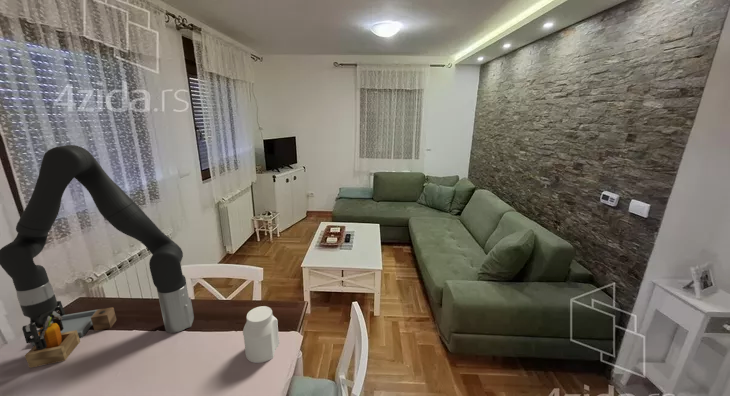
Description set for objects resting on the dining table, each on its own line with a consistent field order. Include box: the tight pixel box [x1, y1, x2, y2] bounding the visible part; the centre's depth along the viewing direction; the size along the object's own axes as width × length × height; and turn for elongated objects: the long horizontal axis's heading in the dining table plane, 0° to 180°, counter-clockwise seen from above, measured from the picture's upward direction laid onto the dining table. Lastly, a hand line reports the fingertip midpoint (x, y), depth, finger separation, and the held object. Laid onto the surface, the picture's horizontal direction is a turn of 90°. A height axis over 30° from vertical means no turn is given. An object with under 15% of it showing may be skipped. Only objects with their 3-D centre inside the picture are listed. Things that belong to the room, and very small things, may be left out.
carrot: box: [38, 317, 62, 349], centre depth 96 cm, size 5×5×15 cm
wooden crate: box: [24, 330, 81, 369], centre depth 97 cm, size 9×9×5 cm
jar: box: [242, 305, 280, 364], centre depth 99 cm, size 12×10×15 cm
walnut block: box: [91, 306, 117, 332], centre depth 111 cm, size 5×5×6 cm
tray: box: [31, 308, 100, 347], centre depth 109 cm, size 14×14×2 cm
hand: (51, 339), depth 96 cm, fingers open, 8 cm apart
